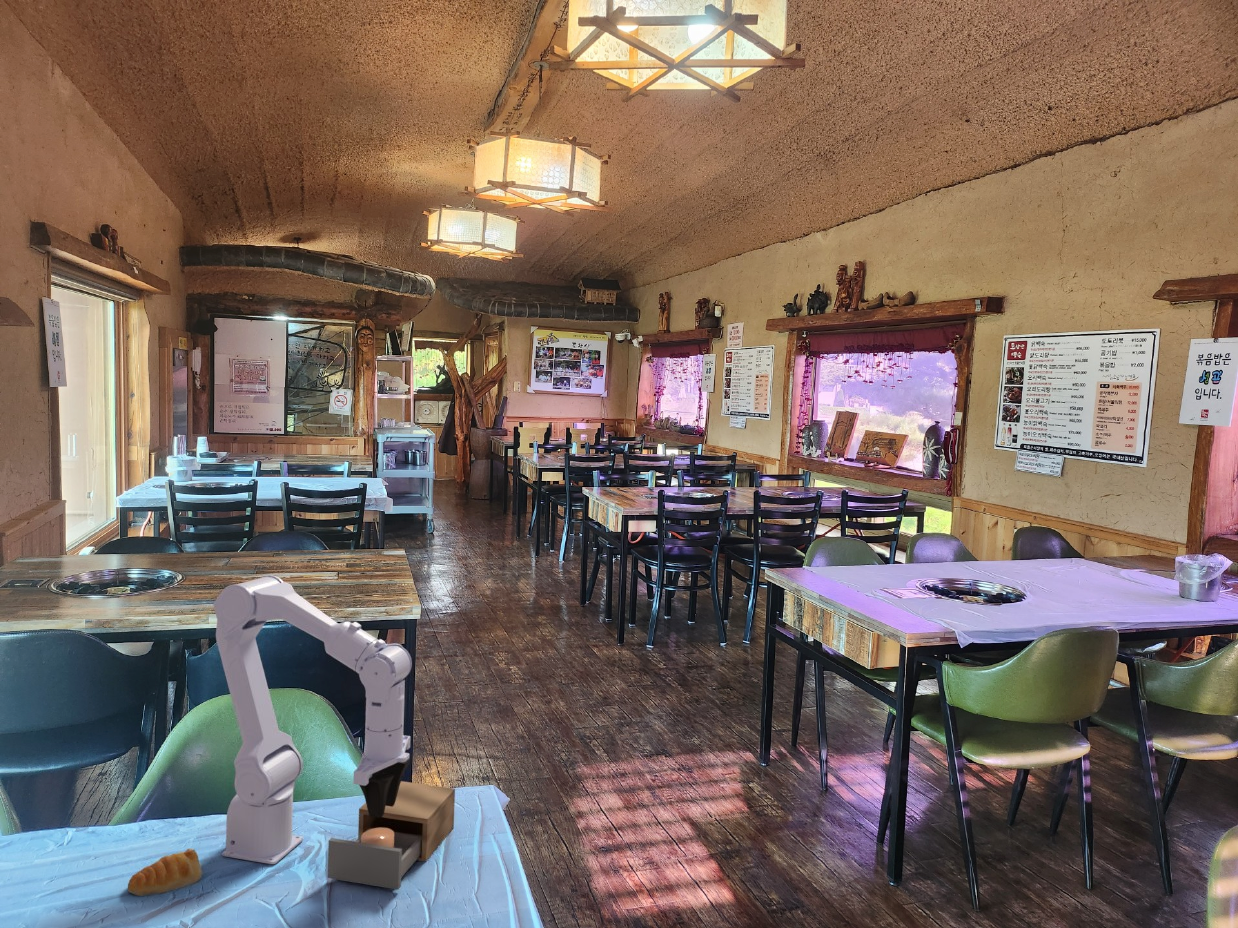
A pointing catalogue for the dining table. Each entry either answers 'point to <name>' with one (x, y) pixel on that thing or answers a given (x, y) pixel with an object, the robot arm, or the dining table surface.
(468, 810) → the dining table surface
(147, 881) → the pastry
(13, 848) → the dining table surface
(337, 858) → the grey drawer
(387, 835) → the tan rounded cylinder
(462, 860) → the dining table surface
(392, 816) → the housing
